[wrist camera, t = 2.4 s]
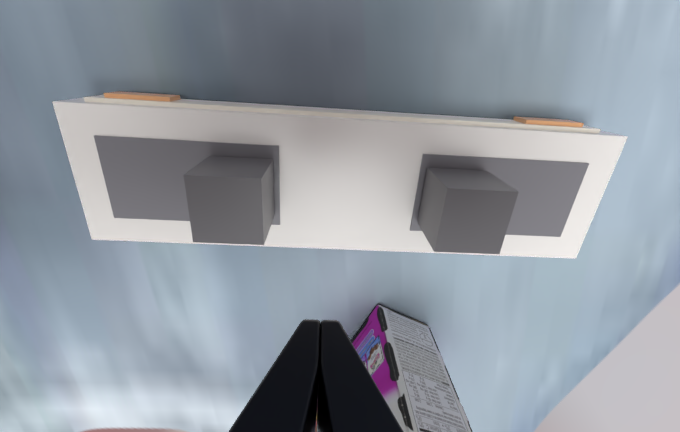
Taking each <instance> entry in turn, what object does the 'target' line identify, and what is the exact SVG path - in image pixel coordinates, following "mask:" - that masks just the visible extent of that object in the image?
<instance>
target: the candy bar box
mask: <svg viewBox="0 0 680 432" xmlns="http://www.w3.org/2000/svg"><path fill="white" fill-rule="evenodd" d="M352 344H353V346H354V348H355V349H356V351H357V353H358V354H359V356H360V358H361V359H362V361H363V363H364V365H365V366H366V368H367V370H368V371H369V373H370V375H371V377H372V378H373V380H374V382H375V383H376V385H377V387H378V389H379V390H380V392H381V394H382V395H383V397H384V399H385V401H386V402H387V404H388V406H389V407H390V409H391V411H392V413H393V414H394V416H395V418H396V419H397V421H398V423H399V425H400V426H401V428H402V430H403V431H404V432H472V430H471V427H470V424H469V421H468V419H467V416H466V414H465V412H464V409H463V407H462V405H461V403H460V401H459V398H458V396H457V393H456V391H455V388H454V386H453V383H452V381H451V378H450V376H449V374H448V371H447V369H446V366H445V364H444V361H443V359H442V356H441V354H440V352H439V349H438V347H437V344H436V342H435V339H434V337H433V335H432V332H431V330H430V328H429V326H428V325H426V324H424V323H422V322H420V321H418V320H415V319H412V318H409V317H406V316H404V315H401V314H399V313H397V312H395V311H393V310H390V309H388V308H385V307H383V306H381V305H377V306H376V307H375V309H374V310H373V311H372V313H371V314H370V316H369V317H368V318H367V320H366V321H365V323H364V324H363V326H362V327H361V329H360V330H359V332H358V333H357V334H356V336H355V337H354V339H353V340H352ZM315 432H317V417H316V429H315Z"/></svg>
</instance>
